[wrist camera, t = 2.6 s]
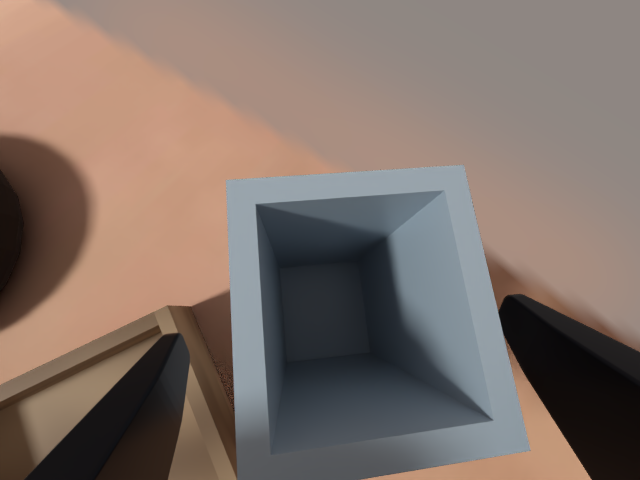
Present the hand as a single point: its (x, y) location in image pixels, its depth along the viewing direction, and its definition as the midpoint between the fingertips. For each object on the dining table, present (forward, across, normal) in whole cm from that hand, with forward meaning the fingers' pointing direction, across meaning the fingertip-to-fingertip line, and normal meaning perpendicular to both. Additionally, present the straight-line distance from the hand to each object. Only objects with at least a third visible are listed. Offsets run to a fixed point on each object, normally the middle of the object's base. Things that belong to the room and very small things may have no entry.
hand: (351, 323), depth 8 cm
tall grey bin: (+6, 0, +6) cm, 8 cm away
